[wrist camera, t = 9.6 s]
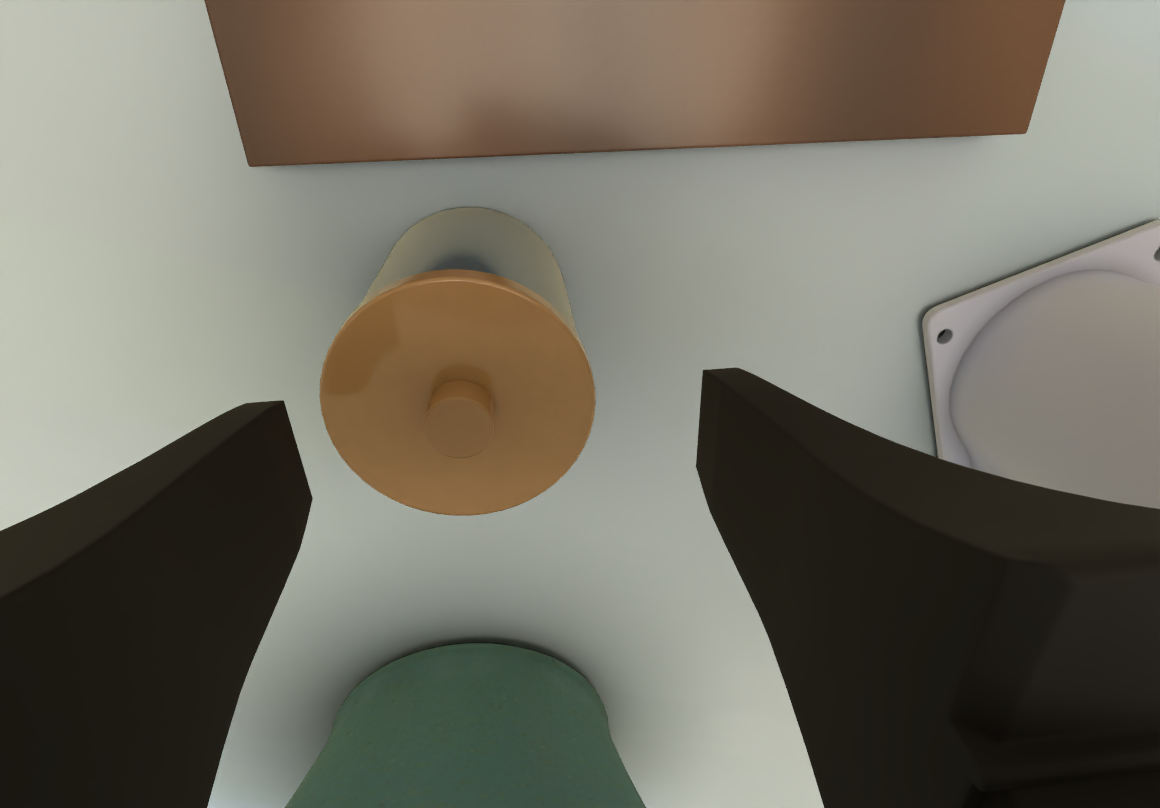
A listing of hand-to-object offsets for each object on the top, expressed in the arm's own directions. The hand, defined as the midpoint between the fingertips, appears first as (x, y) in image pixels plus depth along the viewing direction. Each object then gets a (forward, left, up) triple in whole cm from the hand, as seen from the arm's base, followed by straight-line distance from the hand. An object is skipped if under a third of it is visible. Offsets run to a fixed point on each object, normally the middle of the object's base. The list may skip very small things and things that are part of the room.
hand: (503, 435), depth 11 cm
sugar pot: (0, +1, -9) cm, 9 cm away
